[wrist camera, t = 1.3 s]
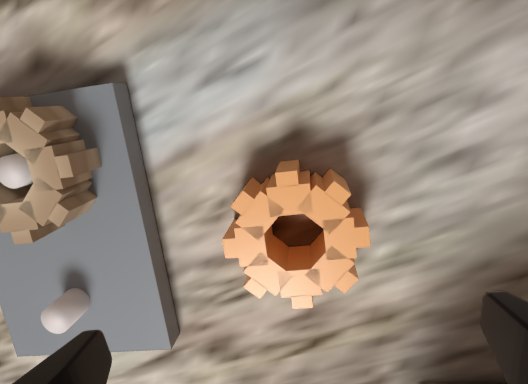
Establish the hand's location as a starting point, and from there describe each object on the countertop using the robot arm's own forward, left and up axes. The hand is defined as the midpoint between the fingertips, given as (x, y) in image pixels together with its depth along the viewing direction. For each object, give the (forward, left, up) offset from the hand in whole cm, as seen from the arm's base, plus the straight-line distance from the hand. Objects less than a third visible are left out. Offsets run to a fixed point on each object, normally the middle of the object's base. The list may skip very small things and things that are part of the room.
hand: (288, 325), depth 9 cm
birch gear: (+4, +13, -10) cm, 17 cm away
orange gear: (-1, 0, -12) cm, 12 cm away
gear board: (0, +13, -12) cm, 18 cm away
